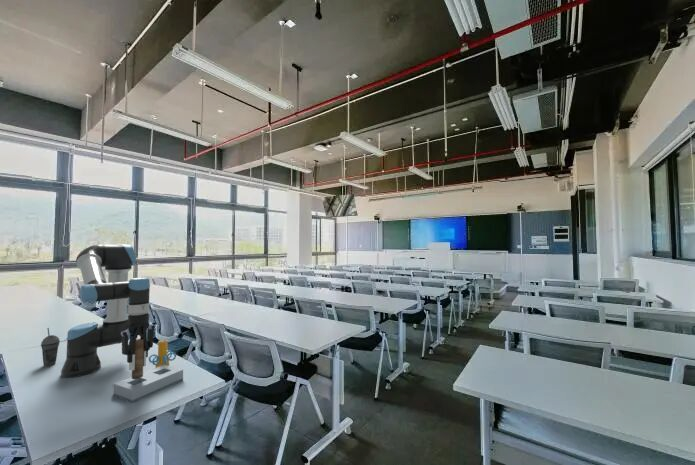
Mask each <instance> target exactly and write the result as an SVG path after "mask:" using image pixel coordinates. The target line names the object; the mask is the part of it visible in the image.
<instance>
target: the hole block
mask: <svg viewBox="0 0 695 465" xmlns="http://www.w3.org/2000/svg"><path fill="white" fill-rule="evenodd" d="M182 381H184V369H181V368H178V367H174V366H171V365H169V366H167V365H162V366H159V367H157V368H155V367H154V368H152V369H149V370H146V371H143V377H141V378H138V379H132V376H130V377H128V378H125V379H123V380H120V381H117V382H114V383H113V389H112V390H113V391H112V392H113V395H112V396H114V397H117V398H119V399H122V400H124V401H127V402H130V403H132V404H134V403H136V402H138V401H140V400H142V399H145V398H146V397H149V396H151V395H153V394H155V393H158V392H160V391H162V390H164V389H167V388H169V387H171V386H174V385H175V384H178V383H180V382H182Z"/></svg>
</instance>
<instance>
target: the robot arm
mask: <svg viewBox="0 0 695 465" xmlns="http://www.w3.org/2000/svg"><path fill="white" fill-rule="evenodd" d="M136 259H137V258H136V252H135V248H134V247H133V246H132V245H131V244H95V245H91V246H88V247H85V249H83V250H81V251H80V252H79V253H78V255H77V256H76V260H75V264H76V267H77V268H78V269H79V270H80V273H81V276H82V280H83V285H81V286H80V289H79V300H80V301H81V303H95V302H96V303H97V302H104V301H105V302H106V301H107V302H106V303H107V304H106V305H107V306H106V317H105V318H104V319H103V320H102V323H101V324H99V323H98V322H96V321H93V322H86V323H83V324H78V325H76V326H75V325H74V326H73V327H71V328H70V329H68V330H67V335H66V359H65V361H64V363H63V365H62V368H61V371H60V377H61V378H77V377H81V376H86V375H88V374H92V373H95V372H97V371H99V370H100V369H101V367H102V366H101V365H102V362H101V360H100V357H99V355H98V348H102V347H106V346H107V347H108V346H111V345H118V344H121V354H122V355H125V356H126V362H127V363H128V370H130V371H132V370H135V354H133V351H134V347H135V342H136V339H138V337H140V338H141V339H144V351H143V367H146V366H147V358H149V357H148V356H149V351H150V349H151V348H153V347H154V333H155V332H154V331H155V328H156V324H150V313H149V312H150V291H151V290H150V289H151V288H150V287H151V283H150V282H151V281H150V278H149V277H135V278H133V277H132V278H130V279H129V271H131V270H132V267H133V266H135V265H136V263H137V262H136V261H137V260H136ZM102 267H104V270H103V268H102ZM104 271H106V272H107V274H108V275H107V276H108V278H107V279H106V277H105V274H104ZM127 313H128V314H127ZM140 338H139V339H140Z"/></svg>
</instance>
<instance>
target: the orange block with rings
mask: <svg viewBox="0 0 695 465" xmlns="http://www.w3.org/2000/svg"><path fill="white" fill-rule="evenodd" d="M157 344H158V345H157V347H158V348H157V354H156V353H155V354H151V355H150V356H149V357H148V362H149V363H150V364H152V365H153V366H155V367H154V368H157V367H159V366H162V365H167V366H170V362H172V361H175V359H176V358H177V354H176V352H173V351H172V350H168V339H161V340H158V343H157ZM172 356H173V358H172ZM152 357H153V358H152ZM151 358H152V360H151Z"/></svg>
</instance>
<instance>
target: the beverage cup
mask: <svg viewBox="0 0 695 465" xmlns="http://www.w3.org/2000/svg"><path fill="white" fill-rule="evenodd" d="M47 335H48V336H46V337H44V338H43V339H42V341H41V343H40V346H41V347H40V348H41V350H42V351H41V352H42V364H43V367H45V366H46V367H51V365H52V366H54V364H55V365H56V362H57V358H58V350H59V346H60V342H61V341H60V337H58V336H57V335H54V334H50V328H49V327H47Z"/></svg>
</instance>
